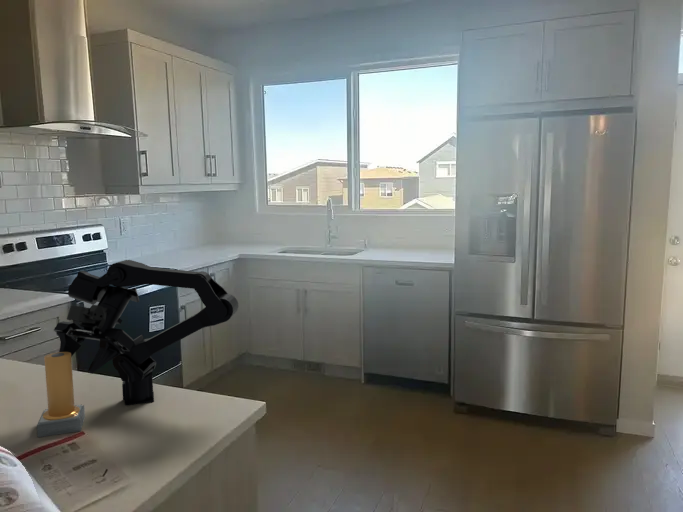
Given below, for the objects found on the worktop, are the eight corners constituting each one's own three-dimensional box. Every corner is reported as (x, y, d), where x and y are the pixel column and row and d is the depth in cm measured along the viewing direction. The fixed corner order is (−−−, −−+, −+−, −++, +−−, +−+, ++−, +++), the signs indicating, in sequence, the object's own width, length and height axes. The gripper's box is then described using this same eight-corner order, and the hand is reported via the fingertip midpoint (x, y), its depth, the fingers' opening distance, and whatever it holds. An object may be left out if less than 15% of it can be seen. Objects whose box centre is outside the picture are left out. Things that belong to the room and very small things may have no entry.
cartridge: (76, 405, 115) (72, 350, 113) (73, 414, 110) (69, 356, 109) (50, 409, 113) (46, 352, 112) (46, 418, 108) (42, 359, 107)
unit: (85, 415, 117) (84, 402, 117) (80, 431, 110) (80, 416, 109) (44, 421, 114) (43, 407, 114) (37, 437, 107) (36, 422, 106)
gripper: (57, 287, 120) (17, 347, 111) (121, 294, 113) (83, 358, 105) (87, 312, 128) (51, 370, 120) (148, 320, 122) (114, 381, 113)
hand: (73, 369), depth 114 cm, fingers open, 9 cm apart
